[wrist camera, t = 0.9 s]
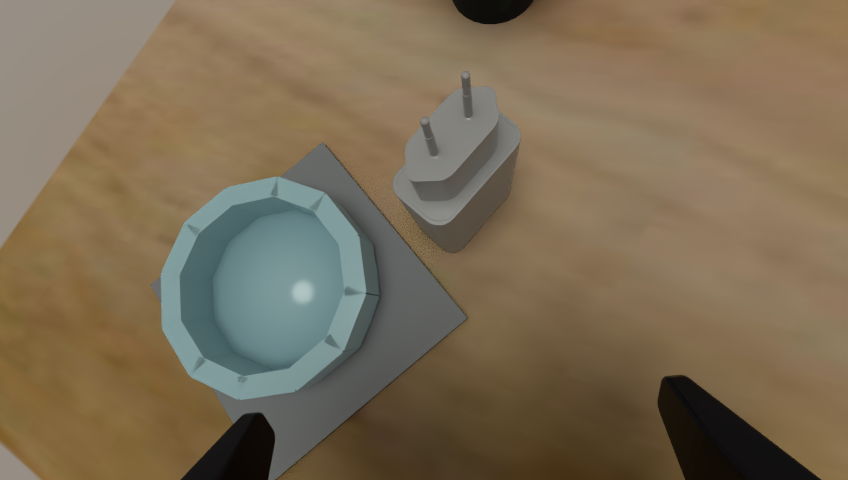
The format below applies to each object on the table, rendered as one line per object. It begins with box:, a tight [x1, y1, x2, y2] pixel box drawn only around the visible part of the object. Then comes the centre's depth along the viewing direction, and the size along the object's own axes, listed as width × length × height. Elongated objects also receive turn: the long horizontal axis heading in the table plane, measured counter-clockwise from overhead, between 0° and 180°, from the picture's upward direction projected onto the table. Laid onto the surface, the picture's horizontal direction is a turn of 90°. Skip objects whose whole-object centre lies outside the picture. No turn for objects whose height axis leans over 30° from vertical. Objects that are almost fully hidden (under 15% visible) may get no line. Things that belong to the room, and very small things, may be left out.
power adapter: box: [393, 71, 521, 253], centre depth 17 cm, size 3×5×12 cm, turn 138°
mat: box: [151, 142, 467, 480], centre depth 23 cm, size 14×14×1 cm
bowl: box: [161, 176, 380, 400], centre depth 22 cm, size 11×11×3 cm
